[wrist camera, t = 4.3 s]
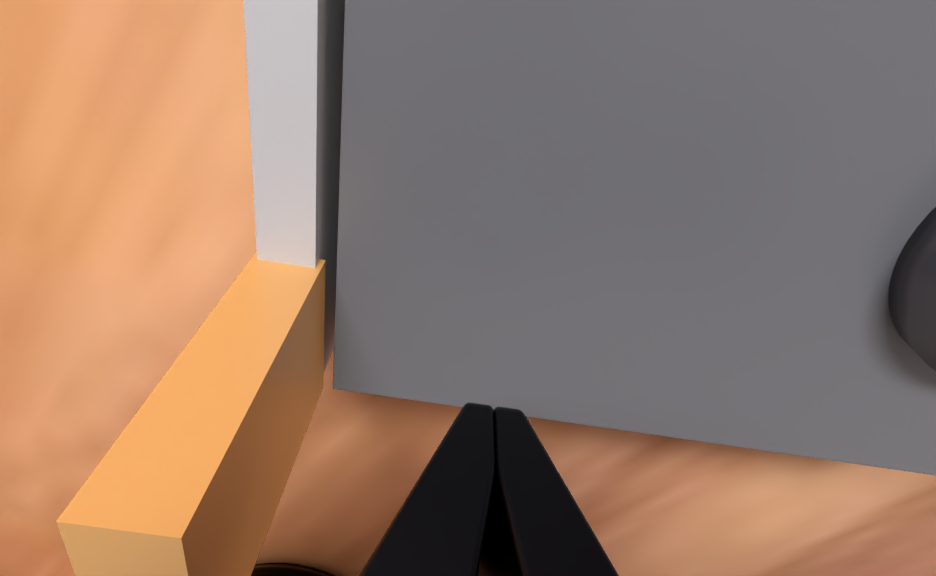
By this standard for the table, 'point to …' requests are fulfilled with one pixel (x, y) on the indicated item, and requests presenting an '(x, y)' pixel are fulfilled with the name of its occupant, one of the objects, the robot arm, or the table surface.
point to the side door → (238, 339)
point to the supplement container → (285, 570)
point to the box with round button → (647, 217)
